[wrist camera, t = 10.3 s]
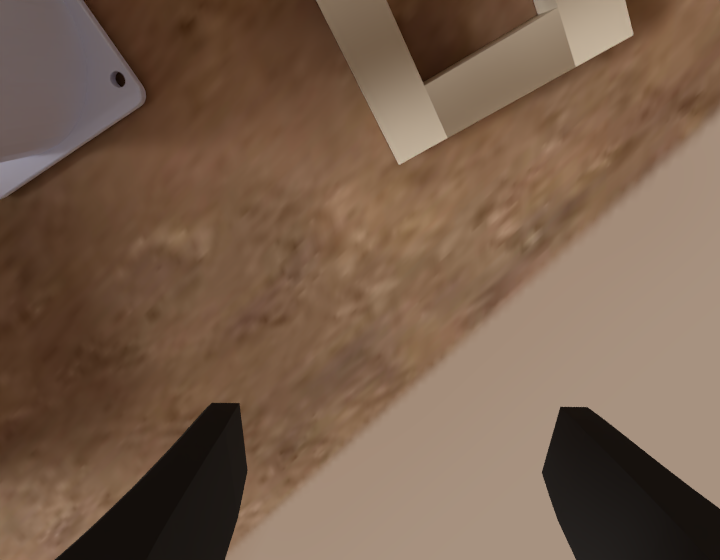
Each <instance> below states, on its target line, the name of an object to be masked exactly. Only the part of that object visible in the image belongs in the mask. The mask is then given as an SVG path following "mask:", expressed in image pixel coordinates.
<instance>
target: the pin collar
mask: <svg viewBox="0 0 720 560" xmlns="http://www.w3.org/2000/svg"><path fill="white" fill-rule="evenodd" d="M316 1H317V3H318V5H319V7H320V9H321V11H322V13H323V15H324V17H325V19H326V21H327V23H328V25H329V27H330V29H331V31H332V33H333V35H334V37H335V39H336V41H337V43H338V45H339V47H340V49H341V51H342V53H343V55H344V57H345V59H346V61H347V63H348V65H349V67H350V69H351V71H352V73H353V75H354V77H355V79H356V81H357V83H358V85H359V87H360V89H361V91H362V93H363V95H364V97H365V99H366V101H367V103H368V105H369V107H370V109H371V111H372V113H373V115H374V117H375V119H376V121H377V123H378V125H379V127H380V129H381V131H382V133H383V135H384V137H385V138H386V140H387V142H388V144H389V146H390V148H391V150H392V152H393V154H394V156H395V158H396V160H397V162H398V164H399V165H400V164H402V163H403V162H405V161H407V160H409V159H411V158H413V157H414V156H416V155H418V154H420V153H422V152H423V151H425V150H427V149H429V148H431V147H432V146H434V145H436V144H438V143H440V142H441V141H443V140H445V139H447V138H449V137H450V136H452V135H454V134H456V133H458V132H459V131H461V130H463V129H465V128H467V127H468V126H470V125H472V124H474V123H476V122H478V121H479V120H481V119H483V118H485V117H487V116H488V115H490V114H492V113H494V112H496V111H497V110H499V109H501V108H503V107H505V106H506V105H508V104H510V103H512V102H514V101H515V100H517V99H519V98H521V97H523V96H524V95H526V94H528V93H530V92H532V91H533V90H535V89H537V88H539V87H541V86H543V85H544V84H546V83H548V82H550V81H552V80H553V79H555V78H557V77H559V76H561V75H562V74H564V73H566V72H568V71H570V70H571V69H573V68H575V67H577V66H579V65H580V64H582V63H584V62H586V61H588V60H589V59H591V58H593V57H595V56H597V55H598V54H600V53H602V52H604V51H606V50H608V49H609V48H611V47H613V46H615V45H617V44H618V43H620V42H622V41H624V40H626V39H627V38H629V37H631V36H633V35H634V34H633V30H632V26H631V22H630V18H629V14H628V10H627V6H626V1H625V0H533V1H534V4H535V7H536V10H537V14H538V15H537V16H535V17H533V18H532V19H530V20H528V21H527V22H525V23H523V24H521V25H520V26H518V27H516V28H515V29H513V30H511V31H510V32H508V33H506V34H504V35H503V36H501V37H499V38H498V39H496V40H494V41H493V42H491V43H489V44H487V45H486V46H484V47H482V48H481V49H479V50H477V51H476V52H474V53H472V54H471V55H469V56H467V57H465V58H464V59H462V60H460V61H459V62H457V63H455V64H454V65H452V66H450V67H448V68H447V69H445V70H443V71H442V72H440V73H438V74H437V75H435V76H433V77H431V78H430V79H428V80H426V81H425V82H422V79H421V77H420V75H419V73H418V70H417V68H416V66H415V64H414V61H413V59H412V57H411V55H410V52H409V50H408V48H407V46H406V43H405V41H404V39H403V37H402V34H401V32H400V30H399V28H398V25H397V23H396V21H395V18H394V16H393V14H392V12H391V9H390V7H389V5H388V3H387V0H316Z"/></svg>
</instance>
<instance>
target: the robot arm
mask: <svg viewBox="0 0 720 560" xmlns="http://www.w3.org/2000/svg"><path fill="white" fill-rule="evenodd" d="M118 72H120V73H122V74H123V75H124V78H125V85H124V86H123V87H121V86H120V85H119V84H117V81H116V74H117V73H118ZM145 100H146V91H145V89H144V87H143V85H142V84H141V82H140V81H139V79H138V78H137V77H136V75H135V74H134V72H133V71H132V69H131V68H130V67H129V65H128V64H127V62H126V61H125V59H124V58H123V57H122V55H121V54H120V52H119V51H118V49H117V48H116V47H115V45H114V44H113V42H112V41H111V39H110V38H109V37H108V35H107V34H106V32H105V31H104V29H103V28H102V27H101V25H100V24H99V22H98V21H97V19H96V18H95V17H94V15H93V14H92V12H91V11H90V9H89V8H88V6H87V5H86V4H85V2H84V1H83V0H0V199H3V198H5V197H7V196H8V195H10V194H11V193H13V192H14V191H16V190H17V189H19V188H20V187H22V186H23V185H25V184H26V183H28V182H29V181H31V180H32V179H34V178H35V177H37V176H38V175H40V174H41V173H43V172H44V171H45V170H47V169H48V168H50V167H51V166H53V165H54V164H56V163H57V162H59V161H60V160H62V159H63V158H65V157H66V156H68V155H69V154H71V153H72V152H74V151H75V150H77V149H78V148H80V147H81V146H83V145H84V144H86V143H87V142H89V141H90V140H92V139H93V138H95V137H96V136H98V135H99V134H100V133H102V132H103V131H105V130H106V129H108V128H109V127H111V126H112V125H114V124H115V123H117V122H118V121H120V120H121V119H123V118H124V117H126V116H127V115H129V114H130V113H132V112H133V111H135V110H136V109H138V108H139V107H141V106H142V105H143V104H144V103H145ZM542 474H543V477H544V480H545V484H546V487H547V490H548V493H549V496H550V499H551V502H552V505H553V507H554V511H555V513H556V516H557V519H558V521H559V524H560V526H561V528H562V530H563V532H564V534H565V537H566V539H567V541H568V543H569V545H570V547H571V549H572V552H573V554H574V556H575V558H576V560H720V509H719V508H718V507H717V506H715V505H714V504H713V503H711V502H710V501H709V500H707V499H706V498H704V497H703V496H702V495H700V494H699V493H698V492H696V491H695V490H694V489H692V488H691V487H690V486H688V485H687V484H686V483H684V482H683V481H682V480H681V479H679V478H678V477H677V476H675V475H674V474H673V473H671V472H670V471H669V470H668V469H666V468H665V467H664V466H662V465H661V464H660V463H659V462H657V461H656V460H655V459H653V458H652V457H651V456H650V455H648V454H647V453H646V452H645V451H643V450H642V449H640V448H639V447H638V446H637V445H636V444H634V443H633V442H632V441H631V440H629V439H628V438H627V437H626V436H624V435H623V434H622V433H621V432H619V431H618V430H617V429H615V428H614V427H613V426H612V425H610V424H609V423H608V422H606V421H605V420H604V419H603V418H601V417H600V416H599V415H597V414H596V413H594V412H593V411H592V410H590V409H589V408H588V407H560V410H559V414H558V417H557V421H556V424H555V428H554V432H553V435H552V439H551V442H550V446H549V449H548V453H547V456H546V460H545V463H544V467H543V471H542ZM246 475H247V463H246V454H245V446H244V438H243V430H242V421H241V413H240V405H239V403H211V404H210V405H209V406H208V407H207V408H206V409H205V410H204V411H203V412H202V413H201V415H200V416H199V417H198V418H197V419H196V420H195V421H194V422H193V424H192V425H191V426H190V427H189V428H188V429H187V430H186V431H185V432H184V434H183V435H182V436H181V437H180V438H179V439H178V440H177V441H176V442H175V443H174V445H173V446H172V447H171V448H170V449H169V450H168V451H167V452H166V453H165V454H164V455H163V456H162V457H161V458H160V460H159V461H158V462H157V463H156V464H155V465H154V466H153V467H152V468H151V469H150V470H149V471H148V472H147V473H146V474H145V475H144V476H143V477H142V478H141V479H140V480H139V481H138V482H137V483H136V484H135V486H134V487H133V488H132V489H131V490H129V491H128V492H127V493H126V494H125V495H124V496H123V497H122V498H121V499H120V500H119V501H118V502H117V503H116V504H115V505H114V506H113V507H112V508H111V509H110V510H109V511H108V512H107V513H106V514H105V515H104V516H103V517H101V518H100V519H99V520H98V521H97V522H96V523H95V524H94V525H93V526H92V527H91V528H90V529H89V530H88V531H87V532H85V533H84V534H83V535H82V536H81V537H80V538H79V539H78V540H77V541H76V542H74V543H73V544H72V545H71V546H70V547H69V548H68V549H66V550H65V551H64V552H63V553H62V554H61V555H60V556H58V557H57V558H56V559H55V560H225V557H226V554H227V551H228V548H229V544H230V541H231V538H232V535H233V532H234V528H235V525H236V522H237V518H238V514H239V510H240V505H241V500H242V495H243V490H244V485H245V480H246Z"/></svg>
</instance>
